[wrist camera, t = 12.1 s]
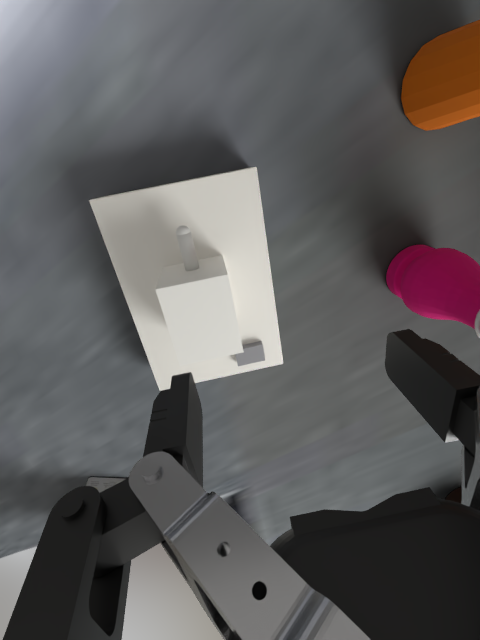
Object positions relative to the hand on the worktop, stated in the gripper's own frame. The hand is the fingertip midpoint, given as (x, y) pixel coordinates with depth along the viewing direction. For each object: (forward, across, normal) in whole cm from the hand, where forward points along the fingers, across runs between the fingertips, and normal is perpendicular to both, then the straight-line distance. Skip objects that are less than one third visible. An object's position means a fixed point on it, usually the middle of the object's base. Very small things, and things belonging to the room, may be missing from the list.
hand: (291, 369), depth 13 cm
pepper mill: (+22, -20, +7) cm, 31 cm away
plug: (+20, +4, +2) cm, 21 cm away
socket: (+22, +4, +3) cm, 23 cm away
